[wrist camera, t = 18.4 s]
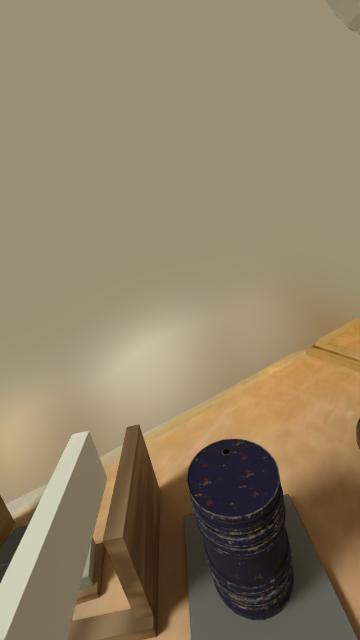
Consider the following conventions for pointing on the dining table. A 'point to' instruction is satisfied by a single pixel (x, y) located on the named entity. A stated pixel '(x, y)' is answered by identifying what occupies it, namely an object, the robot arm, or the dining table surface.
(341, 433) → the dining table surface
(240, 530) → the dark blue cylinder
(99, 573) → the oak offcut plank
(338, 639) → the charcoal mat
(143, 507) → the wooden bookend pair
